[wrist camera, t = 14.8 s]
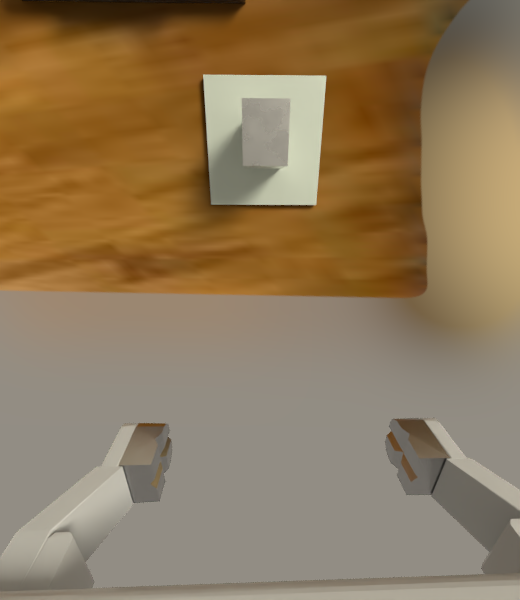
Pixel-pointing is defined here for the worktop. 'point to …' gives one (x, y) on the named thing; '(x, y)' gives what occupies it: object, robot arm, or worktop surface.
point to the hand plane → (167, 0)
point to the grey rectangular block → (265, 132)
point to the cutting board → (228, 140)
